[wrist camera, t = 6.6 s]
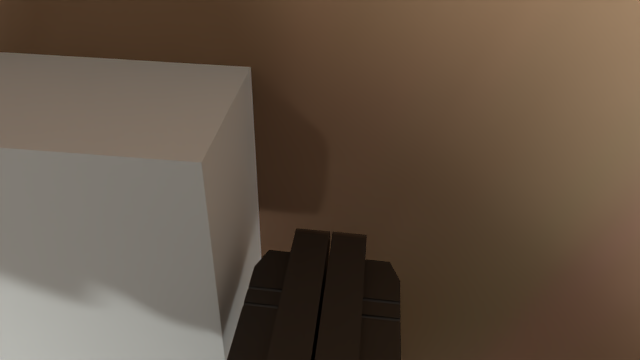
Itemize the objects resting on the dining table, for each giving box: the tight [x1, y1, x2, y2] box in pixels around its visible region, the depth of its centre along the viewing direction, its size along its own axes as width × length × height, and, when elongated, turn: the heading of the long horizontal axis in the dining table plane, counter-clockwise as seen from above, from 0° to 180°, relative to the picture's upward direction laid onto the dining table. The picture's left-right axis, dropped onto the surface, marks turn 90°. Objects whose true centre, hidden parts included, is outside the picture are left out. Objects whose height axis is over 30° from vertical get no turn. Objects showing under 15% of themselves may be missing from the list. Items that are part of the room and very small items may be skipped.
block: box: [0, 52, 261, 360], centre depth 13 cm, size 8×8×4 cm
